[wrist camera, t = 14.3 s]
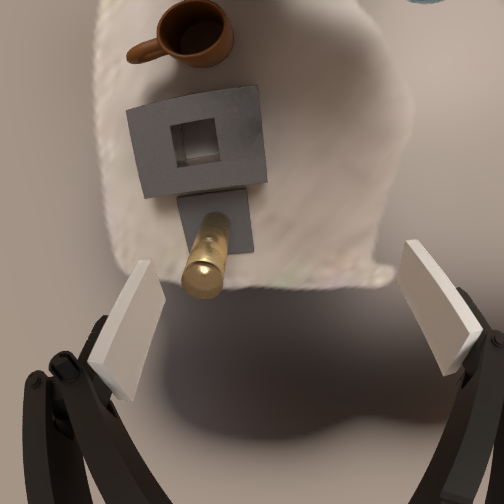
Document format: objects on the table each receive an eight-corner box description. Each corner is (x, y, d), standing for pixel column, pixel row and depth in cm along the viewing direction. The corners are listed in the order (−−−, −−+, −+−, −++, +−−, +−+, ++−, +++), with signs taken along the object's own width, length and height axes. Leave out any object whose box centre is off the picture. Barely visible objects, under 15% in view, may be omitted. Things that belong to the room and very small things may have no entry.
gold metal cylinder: (198, 213, 41) (176, 267, 29) (228, 210, 40) (218, 264, 28) (204, 240, 43) (187, 300, 31) (233, 237, 43) (225, 298, 31)
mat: (177, 196, 40) (176, 198, 39) (246, 187, 40) (245, 189, 39) (191, 255, 45) (190, 257, 44) (253, 249, 45) (253, 251, 44)
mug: (156, 88, 32) (128, 87, 24) (141, 43, 28) (111, 31, 20) (241, 58, 30) (237, 45, 22) (225, 12, 27) (217, -12, 18)
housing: (140, 108, 33) (125, 110, 29) (256, 87, 32) (257, 84, 28) (156, 187, 39) (144, 198, 35) (265, 172, 38) (267, 182, 34)
